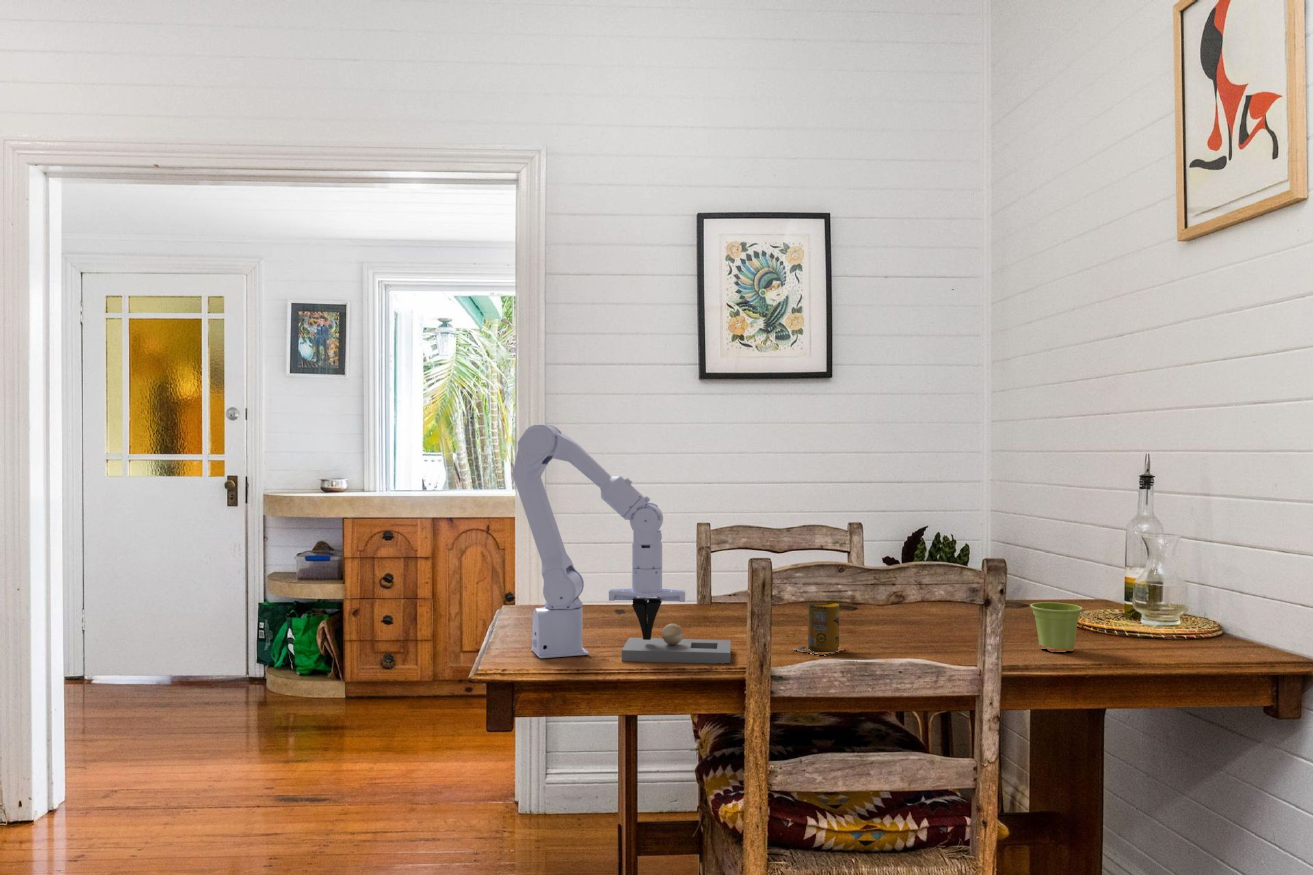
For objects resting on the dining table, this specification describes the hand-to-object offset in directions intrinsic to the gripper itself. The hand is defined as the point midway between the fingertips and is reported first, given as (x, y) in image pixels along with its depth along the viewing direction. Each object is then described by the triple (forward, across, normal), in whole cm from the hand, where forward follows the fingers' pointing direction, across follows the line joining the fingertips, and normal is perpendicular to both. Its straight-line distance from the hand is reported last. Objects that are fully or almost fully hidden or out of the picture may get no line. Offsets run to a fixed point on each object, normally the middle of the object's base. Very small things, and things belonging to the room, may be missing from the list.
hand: (647, 638), depth 171 cm
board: (+3, +6, 0) cm, 7 cm away
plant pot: (+3, +80, +13) cm, 81 cm away
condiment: (+3, +33, +8) cm, 34 cm away
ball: (-1, +5, 0) cm, 5 cm away
